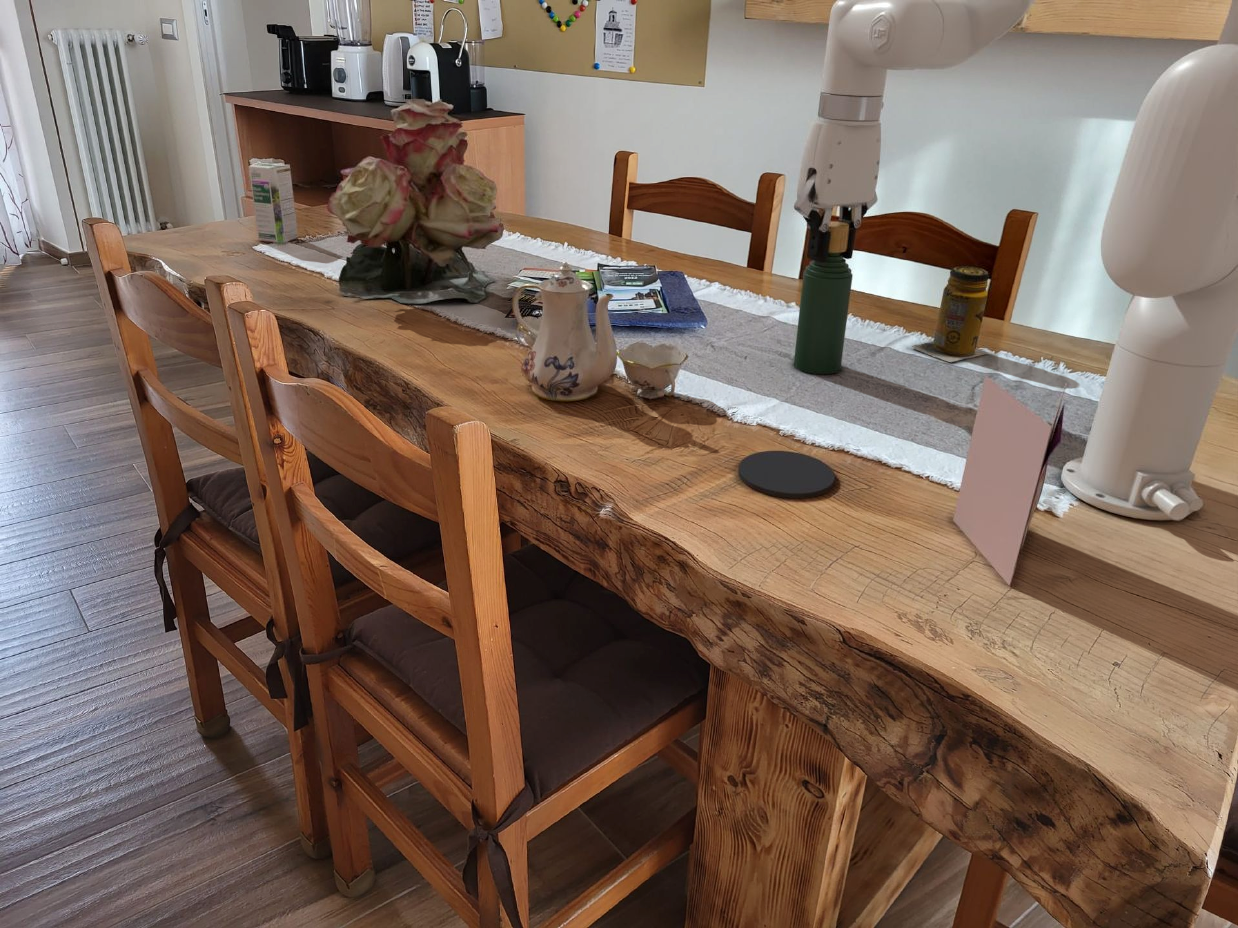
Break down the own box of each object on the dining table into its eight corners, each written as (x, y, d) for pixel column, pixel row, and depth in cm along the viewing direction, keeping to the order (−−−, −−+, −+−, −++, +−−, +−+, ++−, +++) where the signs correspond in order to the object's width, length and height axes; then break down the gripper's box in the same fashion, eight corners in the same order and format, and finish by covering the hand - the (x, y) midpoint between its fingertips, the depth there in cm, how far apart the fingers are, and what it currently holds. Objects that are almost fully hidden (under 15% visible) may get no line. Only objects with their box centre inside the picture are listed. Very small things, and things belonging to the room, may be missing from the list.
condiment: (987, 354, 134) (1005, 273, 129) (950, 363, 130) (967, 280, 124) (947, 339, 139) (963, 261, 134) (909, 348, 135) (924, 268, 130)
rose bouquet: (321, 303, 146) (298, 102, 132) (393, 260, 172) (380, 88, 158) (475, 317, 142) (467, 111, 129) (525, 271, 168) (523, 96, 154)
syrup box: (257, 241, 182) (246, 165, 175) (275, 235, 187) (265, 161, 181) (282, 244, 180) (272, 167, 174) (299, 238, 186) (290, 163, 179)
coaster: (846, 497, 92) (847, 492, 92) (749, 499, 91) (750, 494, 91) (818, 454, 101) (818, 449, 101) (729, 455, 100) (729, 451, 100)
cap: (830, 245, 122) (833, 220, 121) (852, 251, 119) (856, 225, 118) (809, 248, 120) (811, 223, 119) (830, 254, 117) (833, 228, 116)
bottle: (846, 373, 124) (865, 233, 116) (800, 374, 123) (816, 233, 115) (832, 358, 130) (849, 223, 122) (788, 359, 129) (802, 223, 121)
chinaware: (703, 402, 118) (720, 272, 112) (633, 431, 105) (647, 286, 99) (534, 355, 132) (541, 238, 126) (453, 376, 118) (456, 246, 112)
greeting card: (1020, 589, 78) (1063, 429, 72) (932, 564, 81) (965, 409, 75) (1037, 531, 87) (1076, 385, 81) (957, 511, 90) (989, 368, 84)
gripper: (873, 105, 119) (853, 246, 127) (778, 108, 111) (762, 259, 119) (919, 111, 113) (894, 258, 122) (821, 115, 105) (802, 272, 113)
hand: (829, 257), depth 120 cm, fingers closed on cap, 3 cm apart
